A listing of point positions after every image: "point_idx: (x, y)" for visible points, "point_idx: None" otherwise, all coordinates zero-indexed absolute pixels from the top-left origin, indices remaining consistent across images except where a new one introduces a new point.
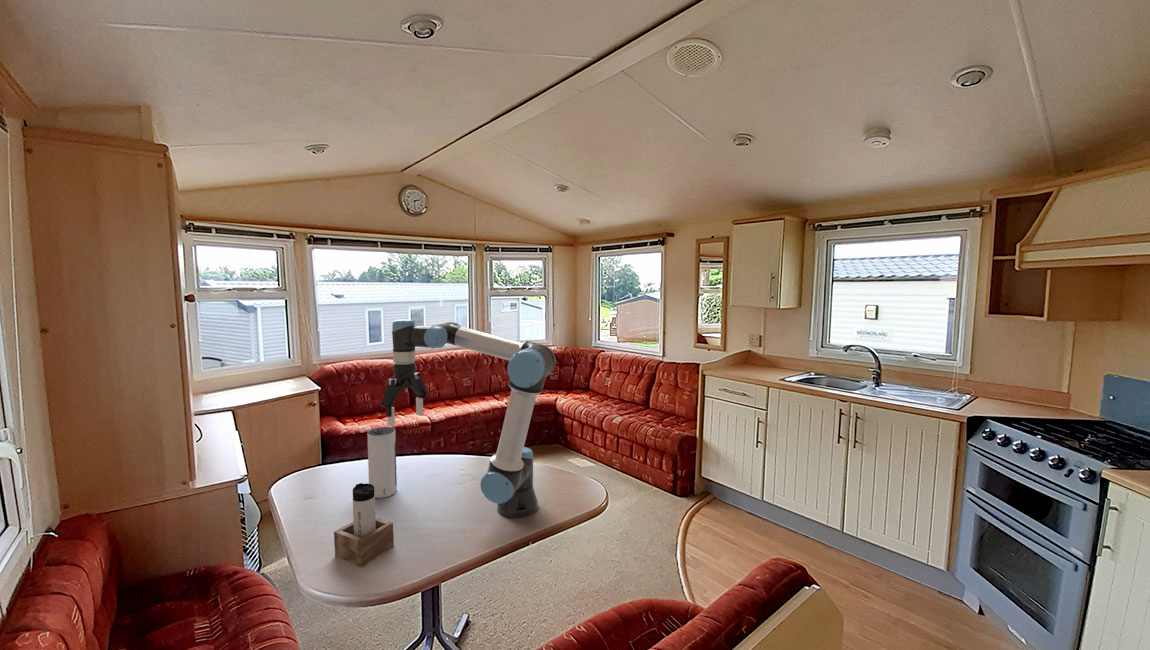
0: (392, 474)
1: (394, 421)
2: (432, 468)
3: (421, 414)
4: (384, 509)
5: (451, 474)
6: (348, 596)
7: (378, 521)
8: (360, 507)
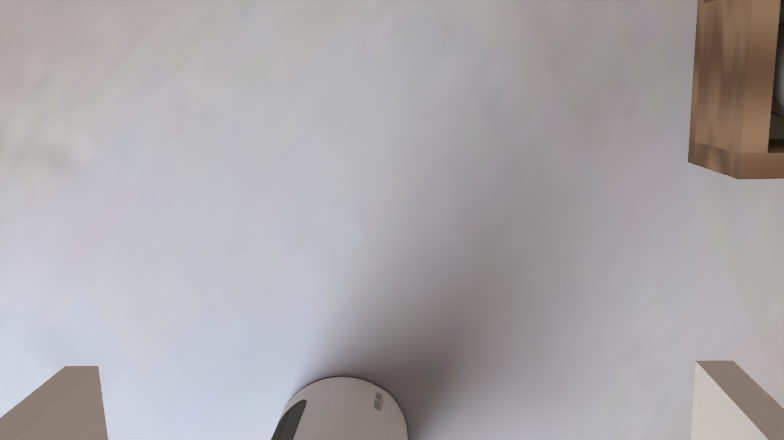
0: (319, 430)
1: (733, 392)
2: None
3: (87, 381)
4: (464, 295)
5: (5, 281)
6: None
7: (775, 52)
8: None
